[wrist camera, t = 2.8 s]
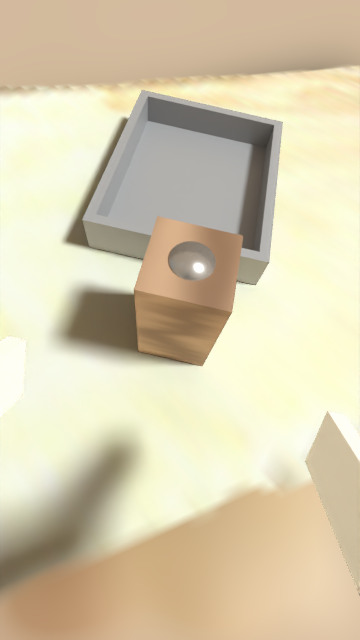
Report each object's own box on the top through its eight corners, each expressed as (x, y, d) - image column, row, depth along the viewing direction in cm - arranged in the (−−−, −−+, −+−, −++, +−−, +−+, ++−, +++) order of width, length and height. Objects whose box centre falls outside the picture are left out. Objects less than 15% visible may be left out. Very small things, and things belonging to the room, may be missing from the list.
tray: (89, 246, 33) (82, 219, 29) (142, 122, 42) (141, 90, 39) (255, 284, 33) (269, 262, 29) (271, 151, 42) (282, 122, 39)
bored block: (138, 351, 28) (133, 288, 18) (154, 295, 31) (157, 215, 21) (202, 366, 28) (232, 311, 18) (212, 309, 31) (243, 234, 21)
